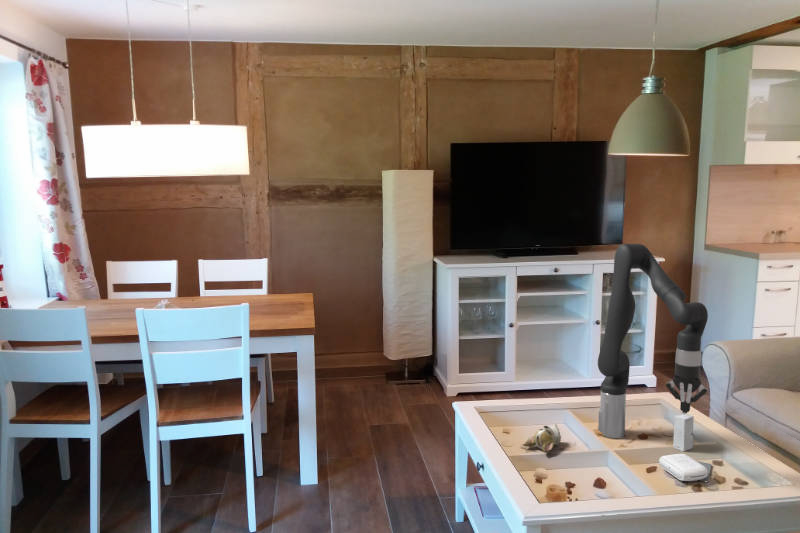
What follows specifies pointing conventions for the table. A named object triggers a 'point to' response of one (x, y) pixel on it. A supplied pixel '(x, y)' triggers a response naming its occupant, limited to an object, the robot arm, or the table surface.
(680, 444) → the skincare box
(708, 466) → the mat
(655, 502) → the table surface
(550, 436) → the ceramic sculpture
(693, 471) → the photo printer
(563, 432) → the table surface
